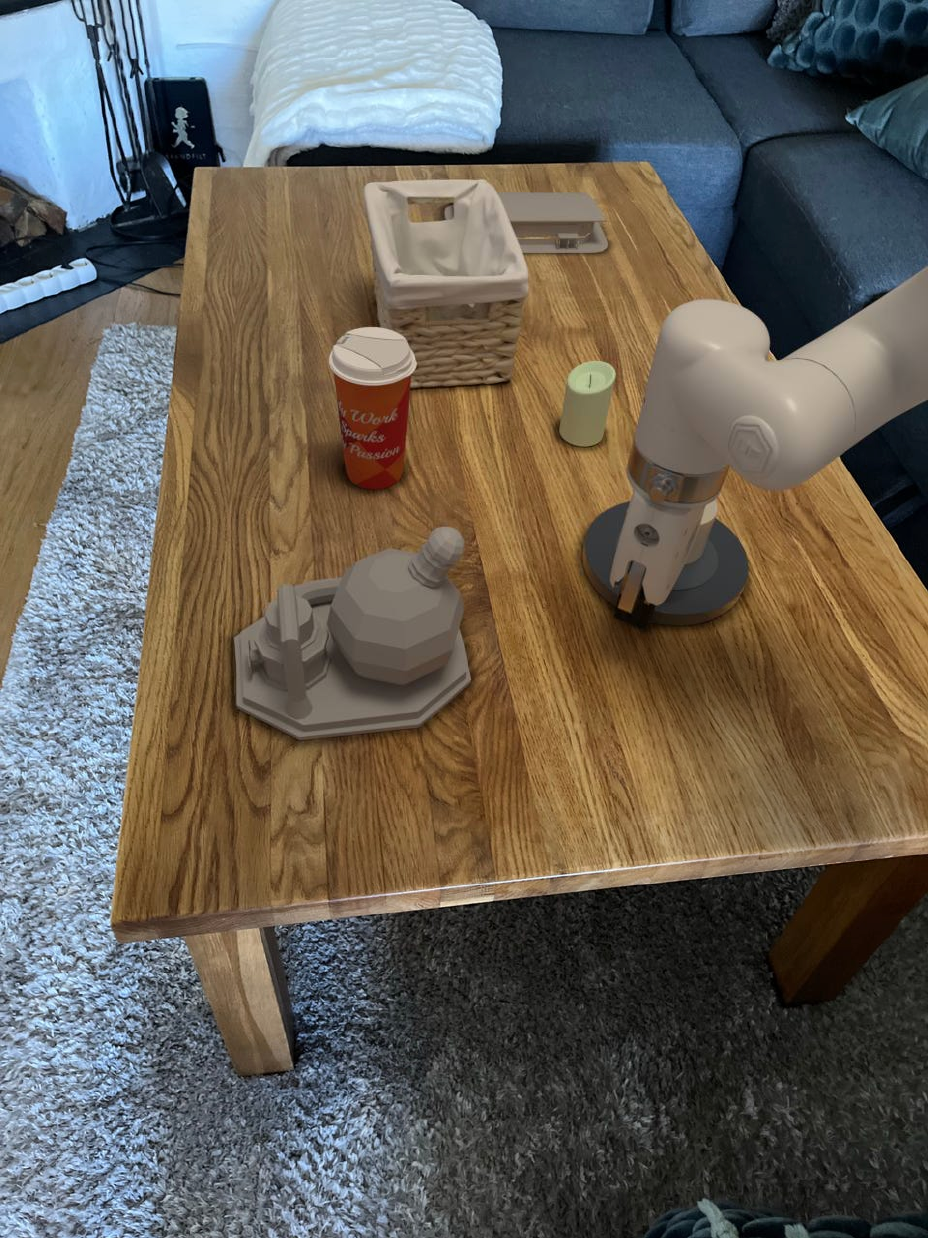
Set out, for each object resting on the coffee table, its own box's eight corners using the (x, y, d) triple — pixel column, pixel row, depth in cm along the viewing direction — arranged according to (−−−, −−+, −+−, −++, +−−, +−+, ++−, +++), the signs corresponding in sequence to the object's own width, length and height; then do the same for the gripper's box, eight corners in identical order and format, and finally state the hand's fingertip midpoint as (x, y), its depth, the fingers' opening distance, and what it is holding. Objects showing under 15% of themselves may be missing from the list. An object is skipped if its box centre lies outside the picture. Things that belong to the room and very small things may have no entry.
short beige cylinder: (712, 534, 93) (726, 494, 89) (692, 574, 89) (706, 534, 85) (652, 512, 95) (663, 472, 91) (630, 550, 91) (640, 510, 87)
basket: (521, 391, 110) (535, 273, 99) (384, 399, 108) (383, 279, 97) (484, 286, 126) (492, 175, 115) (363, 291, 123) (360, 178, 112)
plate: (763, 544, 95) (768, 532, 94) (716, 650, 85) (721, 638, 84) (616, 491, 99) (619, 478, 98) (556, 585, 89) (558, 573, 88)
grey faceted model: (449, 587, 88) (457, 459, 77) (481, 719, 79) (496, 595, 67) (233, 609, 85) (208, 477, 74) (238, 749, 75) (210, 623, 64)
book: (612, 252, 134) (617, 225, 131) (453, 253, 131) (454, 226, 128) (590, 203, 144) (594, 177, 141) (442, 203, 141) (443, 177, 138)
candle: (572, 451, 103) (584, 388, 97) (551, 425, 106) (560, 362, 100) (611, 441, 105) (624, 378, 99) (588, 416, 108) (600, 353, 102)
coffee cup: (321, 483, 97) (312, 358, 86) (357, 439, 103) (352, 315, 91) (395, 506, 96) (394, 381, 84) (427, 460, 101) (431, 336, 90)
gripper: (694, 537, 67) (641, 692, 80) (752, 427, 76) (696, 583, 89) (596, 500, 69) (562, 657, 82) (664, 397, 78) (623, 554, 91)
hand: (632, 618), depth 86 cm, fingers closed
